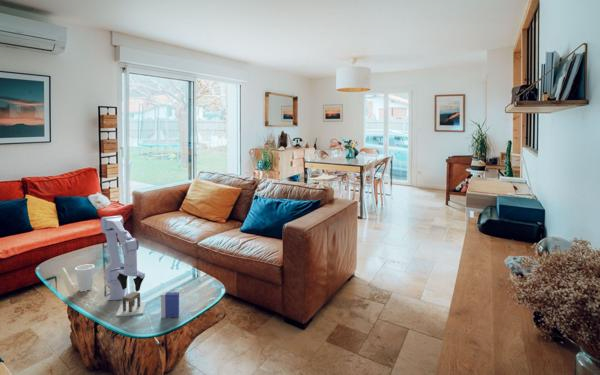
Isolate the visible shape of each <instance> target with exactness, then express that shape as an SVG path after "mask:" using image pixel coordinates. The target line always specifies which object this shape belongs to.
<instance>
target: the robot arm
mask: <svg viewBox="0 0 600 375" xmlns="http://www.w3.org/2000/svg"><path fill="white" fill-rule="evenodd" d="M99 223H100V229H101V233H102V234H105V238H106V244H107V251H108V257H109V265H107V267H106V268H105V269H104V270H105V272H104V273H105V274H104V275H105V277H104V278H105V281H106V282H107V283H109V284H108V285H109V297H108V298H107V301H118V300H123V297H124V296H126V295H127V294H128V291H127V290H126V289H127V288H128V287H127V286H128V277H133V279H132V281H133V282H134V289H135V292H139V291H140V290H141V286H142V283H143V281H144V279H145V277H146V274H145V273H144V272H141V271H139V270H138V261H137V260H138V257H137V256H138V253H137V251H138V250H139V240H138V239H137V238H135V237H132V234H130V232H129V231H128V230H126V229H125V228H124V218H123V216H122V215H121V214H117V215H112V216H102V217H101V218H100V221H99ZM118 241H119V242H120V244H121V250H122V255H123V262H121V257H120V251H119V245H118V244H119V243H118ZM134 277H135V278H134Z"/></svg>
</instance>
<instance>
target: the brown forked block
mask: <svg viewBox="0 0 600 375" xmlns="http://www.w3.org/2000/svg"><path fill="white" fill-rule="evenodd" d="M127 302H128V303H129V312H132V306H134V305H135V303H137V306H138V307H139V306H140V302H141V292H139V291H137V292H136V291H131V292H129V293H127V294H126V296H124V297H123V299H122V304H123V311H126V304H127Z"/></svg>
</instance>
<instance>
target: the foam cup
mask: <svg viewBox="0 0 600 375" xmlns="http://www.w3.org/2000/svg"><path fill="white" fill-rule="evenodd" d="M95 270H96V265H95V264H93V263H91V264H89V263H88V264H80V265H78V266H76V267H74V273H75V278H76V282H77V287H78V291H79V290H80V291H79V292H81V291H85V292H88V291H87V290H89V291H91V290H93V288H94V286H93V285H94V276H95Z"/></svg>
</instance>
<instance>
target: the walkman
mask: <svg viewBox="0 0 600 375" xmlns="http://www.w3.org/2000/svg"><path fill="white" fill-rule="evenodd" d="M178 315H179V316H180V292H177V291H173V292H171V291H169V292H167V291H166V292H162V293H161V294H160V316H161V318H160V319H165V318H167V319H168V317H178V318H179V316H178Z"/></svg>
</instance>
